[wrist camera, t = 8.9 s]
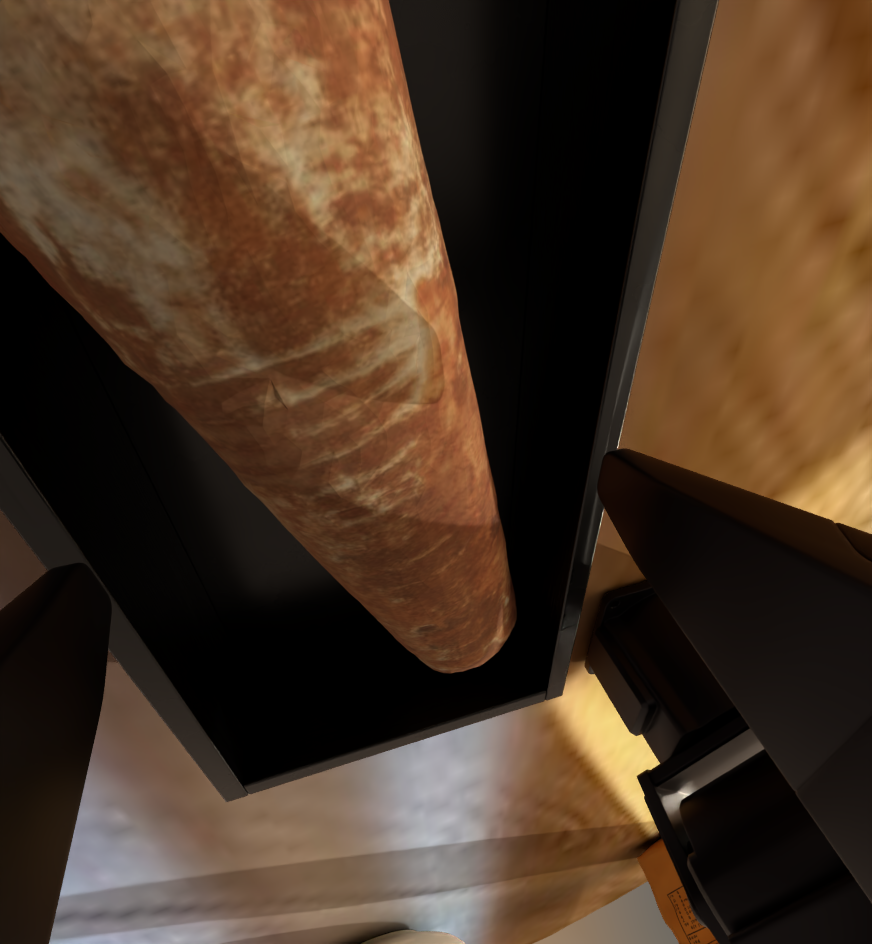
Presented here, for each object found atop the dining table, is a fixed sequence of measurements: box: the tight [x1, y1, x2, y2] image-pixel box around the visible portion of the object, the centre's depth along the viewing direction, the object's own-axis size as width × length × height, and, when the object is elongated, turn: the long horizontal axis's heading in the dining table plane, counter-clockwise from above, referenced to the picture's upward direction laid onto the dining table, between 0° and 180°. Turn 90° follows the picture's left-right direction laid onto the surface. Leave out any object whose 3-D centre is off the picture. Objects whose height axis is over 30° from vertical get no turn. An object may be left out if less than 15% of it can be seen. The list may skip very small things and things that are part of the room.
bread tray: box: [0, 0, 719, 802], centre depth 11 cm, size 12×23×5 cm, turn 3°
